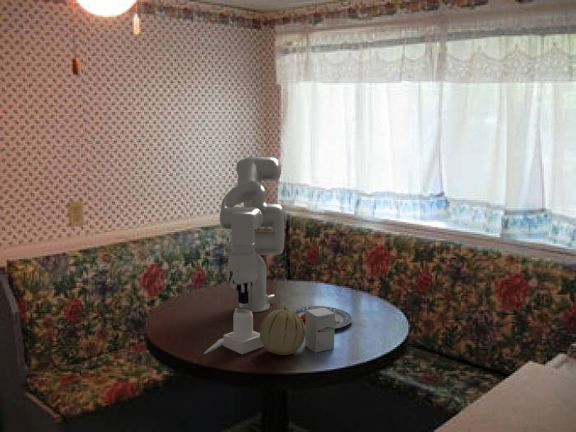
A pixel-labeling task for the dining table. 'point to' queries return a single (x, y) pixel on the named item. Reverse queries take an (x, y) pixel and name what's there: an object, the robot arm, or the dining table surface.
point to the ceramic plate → (340, 315)
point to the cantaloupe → (282, 332)
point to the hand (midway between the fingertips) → (243, 302)
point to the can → (243, 323)
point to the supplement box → (319, 329)
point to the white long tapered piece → (216, 345)
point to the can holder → (242, 343)
